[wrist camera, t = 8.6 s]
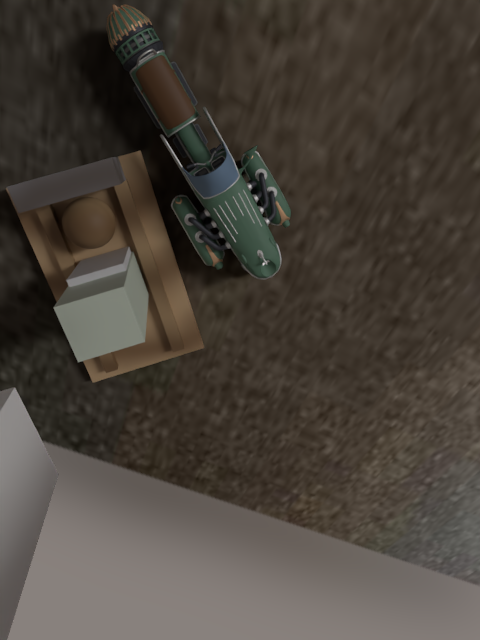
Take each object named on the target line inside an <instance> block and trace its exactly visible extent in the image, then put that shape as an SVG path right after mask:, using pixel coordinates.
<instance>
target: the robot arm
mask: <svg viewBox="0 0 480 640" xmlns="http://www.w3.org/2000/svg"><path fill="white" fill-rule="evenodd" d="M57 478H58V472H57V470H56V468H55V466H54V464H53V462H52V460H51V458H50V456H49V454H48V452H47V450H46V448H45V446H44V444H43V442H42V440H41V438H40V436H39V434H38V432H37V430H36V428H35V426H34V424H33V422H32V420H31V418H30V416H29V414H28V412H27V410H26V408H25V406H24V404H23V403H22V401H21V399H20V397H19V395H18V393H17V391H16V389H15V387H14V388H10V389H7V390H3V391H0V640H7V638H8V635H9V632H10V628H11V625H12V622H13V619H14V616H15V612H16V609H17V606H18V603H19V600H20V596H21V593H22V590H23V587H24V584H25V580H26V577H27V574H28V571H29V567H30V564H31V561H32V558H33V554H34V551H35V548H36V545H37V542H38V539H39V535H40V532H41V529H42V526H43V522H44V519H45V516H46V513H47V510H48V506H49V503H50V500H51V496H52V494H53V490H54V487H55V484H56V481H57Z"/></svg>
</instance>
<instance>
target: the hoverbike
mask: <svg viewBox="0 0 480 640" xmlns="http://www.w3.org/2000/svg"><path fill="white" fill-rule="evenodd" d="M120 7H121V8H120ZM120 7H117V6H116V5H114V4H113V10H114V13H113V12H111V15H110V14H109V15H108V17H107V33H108V39H109V44H110V47H111V48H112V50H113V51H114V53H116V55H117V57H118V58H119V60H120V62H121V63H122V65H123V69H124V70H126V71H128V72H129V73H130V76H131V77H132V79H133V81H134V83H135V84H136V86H135V87H134V91H135V93H136V94H137V96H138V98H139V99H140V101H141V103H142V104H143V106H144V107H145V109H146V111H147V112H148V114H149V116H150V117H151V119H152V121H153V122H154V124H155V126H156V127H157V128H158V129H160V128H162V129H163V131H164V133H165V134H166V136H167V137H168V138H169V137H170V136H171V135H173V134H175V135H176V137H175V138H173V143H174V144H175V146H176V148H177V149H178V151H179V153H180V154H181V156H182V157H183V158H185V157H187V156H188V157H189V159H190V160H191V162H192V164H191V163H189V164H188V165H186V167H187V169H188V170H189V172H187V171H186V170H185V169H184V168H183V166H182V165H181V163H180V161H179V160H178V158H177V157H176V155H175V153H174V152H173V150H172V148H171V147H170V145H169V144H168V142H167V140H166V139H165V138H164V136H163V135H162V134H161V135H160V137H161V139H162V140H163V142H164V144H165V145H166V147H167V149H168V150H169V152H170V154H171V155H172V157H173V159H174V160H175V162H176V164H177V165H178V167H179V169H180V170H181V172H182V173H183V175H184V177H185V178H186V180H187V182H188V183H189V185H190V187H191V188H192V190H193V192H194V193H195V195H196V196H197V198H198V200H199V201H200V203H201V204H202V206H203V207H204V209H205V210H204V211H203V212H198V211H197V209H196V208H195V206H194V205H193V204H192V202H191V201H190V199H189V198H188V196H186V195H178V196H176V197H175V198H174V199H173V200H172V203H171V207H172V209H173V211H174V213H175V214H176V216H177V218H178V220H179V221H180V223H181V225H182V227H183V229H184V230H185V232H186V234H187V236H188V237H189V239H190V241H191V243H192V244H193V246H194V248H195V249H196V251H197V253H198V254H199V256H200V257H201V258H202V260H203V262H204V263H205V264H206V265H209V266H215V267H216V269H221V268H222V267H223V266H224V265H223V263H222V261H223V258H224V255H225V252H224V250H226V249H230V248H231V250H232V251H233V253H234V254H235V255H236V257H237V259H238V261H239V262H240V263H241V264H240V266H241V267H242V268H243V269H244V270H245V271H247V272H248V273H249V274H250V275H252V276H253V277H255V278H257V279H267V278H270V277H272V276H274V275H275V274H276V273H277V272H278V270H279V269H280V266H281V254H280V250H279V247H278V244H277V243H276V242H275V241H274V238H273V236H272V234H271V232H270V230H269V228H268V224H269V223H270V224H271V225H283V226H284V228H286V227H288V226H289V225H290V223H289V219H290V215H291V210H290V208H289V206H288V203H287V201H286V199H285V197H284V195H283V193H282V192H281V190H280V188H279V187H278V185H277V183H276V182H275V180H274V178H273V177H272V175H271V173H270V172H269V170H268V168H267V167H266V165H265V163H264V162H263V160H262V158H261V157H260V155H259V153H258V152H257V151H255V150H256V148H257V146H258V145H257V146H255V147H253V148H251V149H250V150H248V151H247V152H245V153H244V154H243V156H242V158H241V164H242V165H241V166H242V168H241V169H238V168H237V166H236V163H235V161H234V159H233V157H232V155H231V153H230V152H229V150H228V148H227V146H226V144H225V143H224V141H223V139H222V137H221V135H220V133H219V132H218V130H217V128H216V126H215V124H214V123H213V121H212V119H211V117H210V115H209V113H208V112H207V110H206V107H203V110H204V113H205V115H206V117H207V119H208V121H209V123H210V125H211V126H212V128H213V130H214V132H215V134H216V135H217V137H218V139H219V141H220V143H221V144H220V145H219V146H218V147H217V148H216V149H215V148H213V149H211V150H210V152H211V153H210V152H209V150H208V148H207V147H206V144H207V143H208V140H207V139H206V137H205V135H204V133H203V132H202V130H201V128H200V126H199V125H198V124H195V125H194V124H193V123H192V122H193V121H195V120H196V119H198V118H200V117H201V116H199V114H198V112H197V110H196V109H195V107H194V106H195V105H196V104H197V100H196V98H195V96H194V95H193V93H192V91H191V89H190V87H189V86H188V84H187V82H186V80H185V78H184V77H183V75H182V73H181V71H180V69H179V67H178V66H177V64H176V62H172V63H170V62H169V60H168V58H167V56H166V55H165V51H164V50H163V43H162V42H161V41H160V40H159V38H158V36H157V35H156V33H155V31H154V29H153V26H152V24H151V22H150V20H149V18H147V17H146V16H145V15H144V14H142V13H141V12H140V11H138V10H137V9H136V8H133V7H131V6H128V5H125V4H124V5H123V6H122V5H121V6H120ZM222 146H223V148H224V149H223V148H222ZM221 148H222V149H221ZM220 149H221V150H220ZM211 154H212V155H211ZM194 166H195V167H194ZM242 171H243V172H244V173H246V174H247V176H248V178H249V180H250V181H249V182H248V183H246V182H245V180H244V178H243V177H242V175H241V174H242ZM252 188H253V189H252ZM258 200H260V202H261V204H262V206H257V204H256V203H257V201H258ZM264 211H265V215H266V217H267V218H264V217H263V216H262V214H263V212H264ZM208 216H209V217H208ZM206 217H207V218H206ZM204 218H205V219H204ZM203 219H204V220H203ZM212 228H218V230H219V232H218V234H213V233H212V231H211V230H210V229H212ZM220 238H224V239H225V241H226V243H225V244H224V245H220V243H219V242H218V240H217V239H220Z"/></svg>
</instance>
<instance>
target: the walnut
mask: <svg viewBox="0 0 480 640" xmlns="http://www.w3.org/2000/svg"><path fill="white" fill-rule="evenodd" d="M62 225H63V229H64V232H65V234H66V236H67V237H68V238H69V240H70V241H71V242H73V243H74V244H75V245H77V246H79V247H82V248H86V249H96V248H100V247H102V246H104V245H105V244H107V243H108V242H109V241H110V240H111V239H112V237H113V235H114V233H115V229H116V221H115V216H114V214H113V212H112V210H111V209H110V208H109V206H108V205H107V204H105V203H104V202H103V201H101V200H99V199H97V198H93V197H82V198H78V199H76V200H74V201H72V202H71V203H70V204H69V205H68V206H67V207H66V209H65V211H64V213H63V217H62Z"/></svg>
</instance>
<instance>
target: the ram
mask: <svg viewBox="0 0 480 640" xmlns="http://www.w3.org/2000/svg"><path fill="white" fill-rule="evenodd" d="M66 281H67V283H68V287H67V288H66V290H65V291H64V293H63V294H62V296H61V297H60V299H59V300H58V302H57V303H56V304H55V306H54V307H53V308H54V310H55V312H56V315H57V317H58V319H59V321H60V323H61V326H62V328H63V330H64V332H65V334H66V337H67V339H68V341H69V343H70V345H71V348H72V350H73V352H74V354H75V357H76V359H77V361H78V362H81V361H85V360H88V359H91V358H94V357H98V356H101V355H104V354H107V353H111V352H114V351H117V350H120V349H124V348H127V347H130V346H133V345H137V344H140V343H143V342H145V336H146V323H147V311H148V298H149V293H148V290H147V287H146V285H145V282H144V279H143V276H142V274H141V271H140V268H139V265H138V262H137V260H136V257H135V254H134V251H132V252H131V250H130V247H129V246H128V247H124V248H121V249H118V250H114V251H111V252H107V253H104V254H101V255H97V256H94V257H90V258H87V259H84V260H81V261H80V262H79V264H78V265H77V266H76V268H75V269H74V270H73V272H72V273H71V274H70V276H69V277H68V279H67V280H66Z"/></svg>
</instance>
